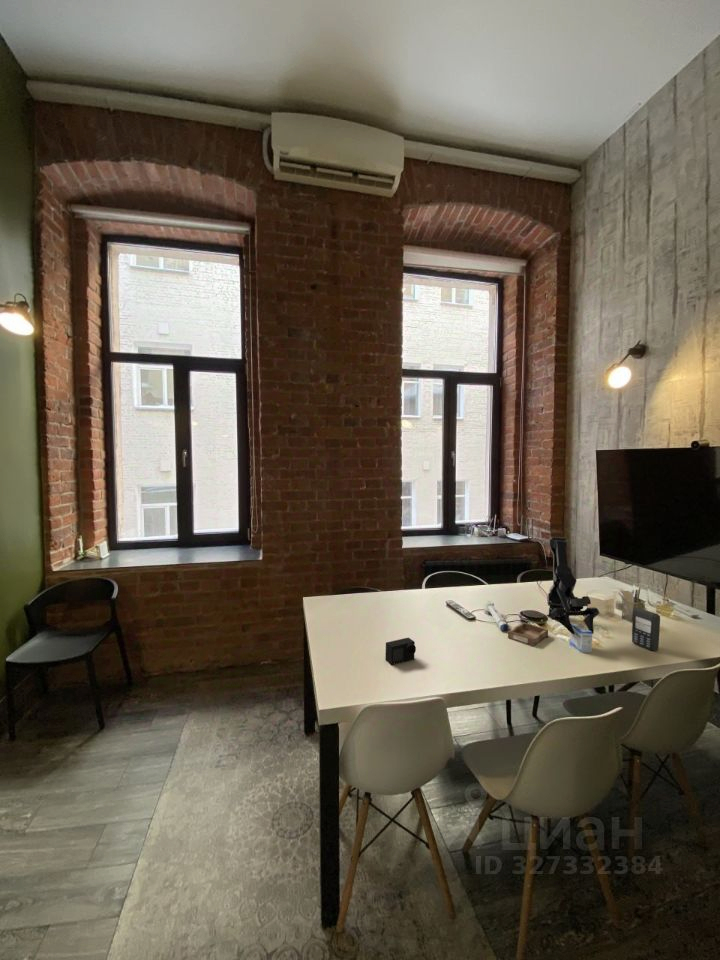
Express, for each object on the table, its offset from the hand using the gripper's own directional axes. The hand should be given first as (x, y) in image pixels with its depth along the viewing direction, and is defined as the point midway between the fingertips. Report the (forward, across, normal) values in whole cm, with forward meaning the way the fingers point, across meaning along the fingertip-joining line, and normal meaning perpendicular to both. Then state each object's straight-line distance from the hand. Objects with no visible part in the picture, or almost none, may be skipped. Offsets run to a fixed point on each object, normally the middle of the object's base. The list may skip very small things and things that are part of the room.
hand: (583, 633), depth 163 cm
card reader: (+4, +28, +6) cm, 29 cm away
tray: (-4, -16, +14) cm, 22 cm away
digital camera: (+8, -76, +2) cm, 76 cm away
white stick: (-17, -22, +27) cm, 39 cm away
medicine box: (+4, 0, +6) cm, 7 cm away
